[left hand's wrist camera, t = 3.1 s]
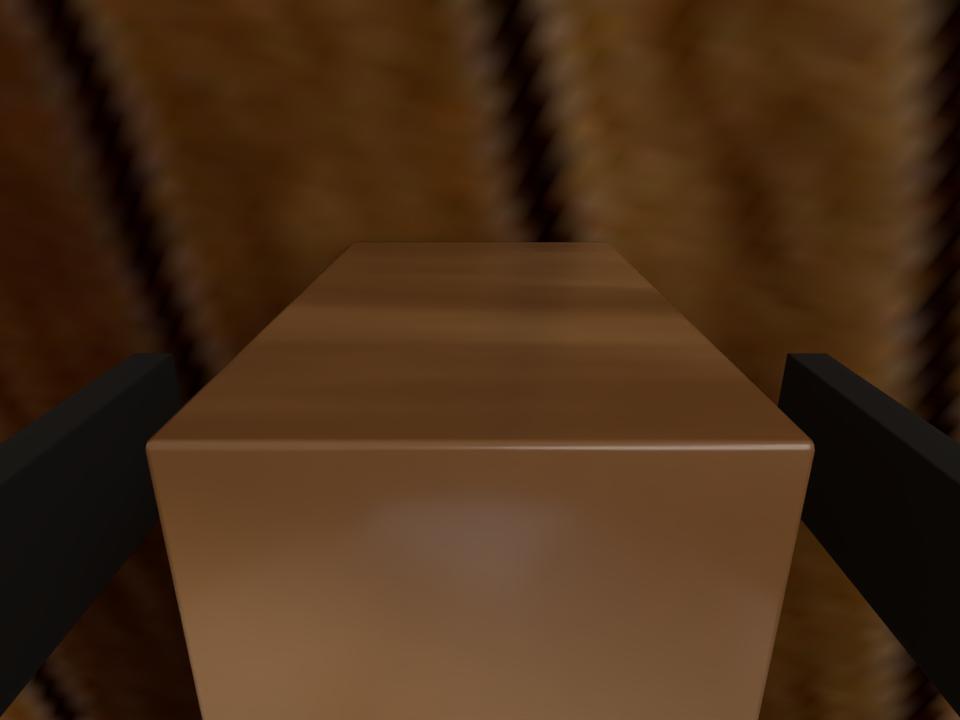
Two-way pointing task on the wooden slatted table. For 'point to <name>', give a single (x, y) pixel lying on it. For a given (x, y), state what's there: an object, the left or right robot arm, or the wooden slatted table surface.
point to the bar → (480, 499)
